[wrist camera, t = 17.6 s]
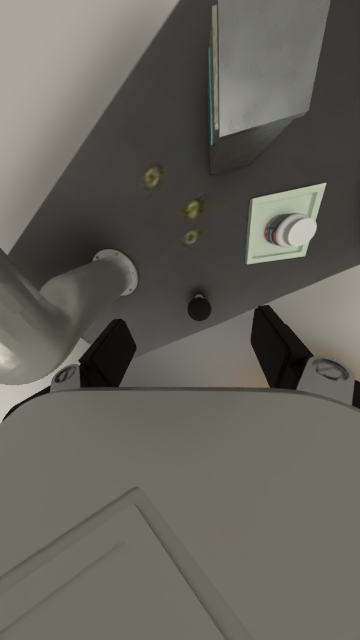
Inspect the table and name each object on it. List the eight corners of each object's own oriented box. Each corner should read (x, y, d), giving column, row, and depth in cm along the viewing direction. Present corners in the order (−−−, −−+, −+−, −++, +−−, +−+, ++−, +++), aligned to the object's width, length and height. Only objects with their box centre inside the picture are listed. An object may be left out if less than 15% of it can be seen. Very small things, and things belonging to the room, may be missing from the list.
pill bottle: (258, 229, 31) (277, 232, 23) (283, 207, 28) (313, 202, 21) (271, 248, 33) (292, 257, 25) (295, 229, 30) (326, 232, 23)
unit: (208, 178, 28) (218, 137, 14) (204, 82, 22) (214, -144, 8) (251, 167, 26) (308, 110, 13) (258, 62, 20) (380, -250, 7)
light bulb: (197, 283, 40) (197, 299, 31) (213, 295, 41) (217, 314, 33) (184, 298, 43) (182, 316, 34) (200, 309, 44) (200, 329, 36)
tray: (244, 262, 35) (247, 264, 34) (249, 199, 29) (252, 198, 27) (299, 254, 33) (305, 255, 32) (318, 185, 27) (326, 182, 25)
